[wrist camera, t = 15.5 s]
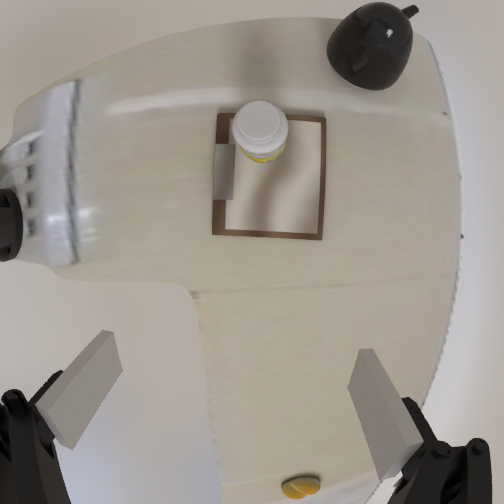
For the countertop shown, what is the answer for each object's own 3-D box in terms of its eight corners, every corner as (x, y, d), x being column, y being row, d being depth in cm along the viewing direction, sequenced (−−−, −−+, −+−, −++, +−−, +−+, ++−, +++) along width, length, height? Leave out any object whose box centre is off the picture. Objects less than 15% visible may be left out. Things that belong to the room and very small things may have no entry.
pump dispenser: (402, 81, 29) (454, 36, 14) (356, 111, 31) (403, 64, 16) (356, 33, 28) (386, -26, 13) (307, 59, 30) (322, -8, 15)
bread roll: (325, 482, 44) (327, 494, 40) (295, 493, 46) (295, 504, 42) (307, 471, 44) (308, 484, 40) (275, 483, 45) (274, 495, 41)
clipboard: (213, 234, 35) (210, 235, 34) (218, 114, 32) (215, 111, 31) (321, 239, 34) (323, 241, 33) (325, 119, 31) (327, 115, 30)
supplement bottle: (249, 116, 31) (240, 85, 21) (291, 130, 31) (298, 102, 21) (234, 156, 33) (218, 137, 22) (276, 170, 32) (278, 157, 22)
